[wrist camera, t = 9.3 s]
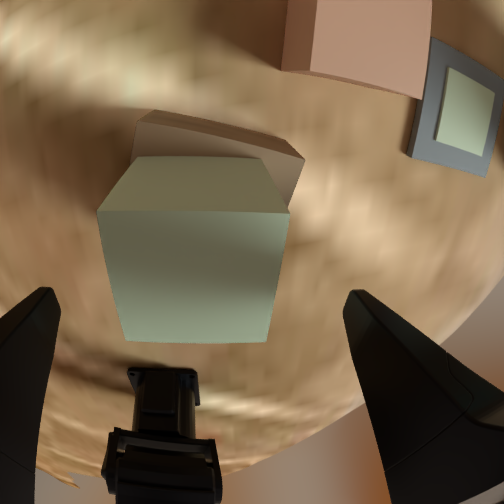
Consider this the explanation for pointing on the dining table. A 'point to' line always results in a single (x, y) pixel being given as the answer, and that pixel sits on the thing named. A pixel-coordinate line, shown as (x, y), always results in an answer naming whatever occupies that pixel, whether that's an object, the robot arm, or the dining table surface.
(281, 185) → the walnut block
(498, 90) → the card
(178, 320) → the sage cube
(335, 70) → the terracotta cube
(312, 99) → the dining table surface
